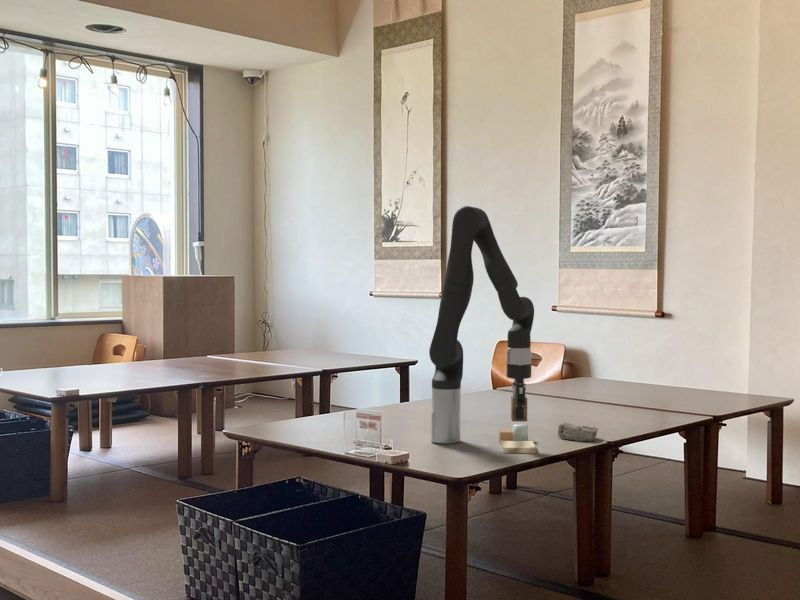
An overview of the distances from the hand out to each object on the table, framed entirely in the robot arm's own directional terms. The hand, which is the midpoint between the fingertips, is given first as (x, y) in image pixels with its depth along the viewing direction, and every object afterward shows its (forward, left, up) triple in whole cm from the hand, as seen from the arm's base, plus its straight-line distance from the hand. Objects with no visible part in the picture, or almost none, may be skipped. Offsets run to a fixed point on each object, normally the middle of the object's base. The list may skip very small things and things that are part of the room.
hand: (518, 417), depth 281 cm
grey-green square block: (+2, +14, -10) cm, 17 cm away
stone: (+21, +18, -10) cm, 30 cm away
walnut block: (0, 0, -1) cm, 1 cm away
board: (0, 0, -10) cm, 10 cm away
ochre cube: (-3, +9, -10) cm, 14 cm away
